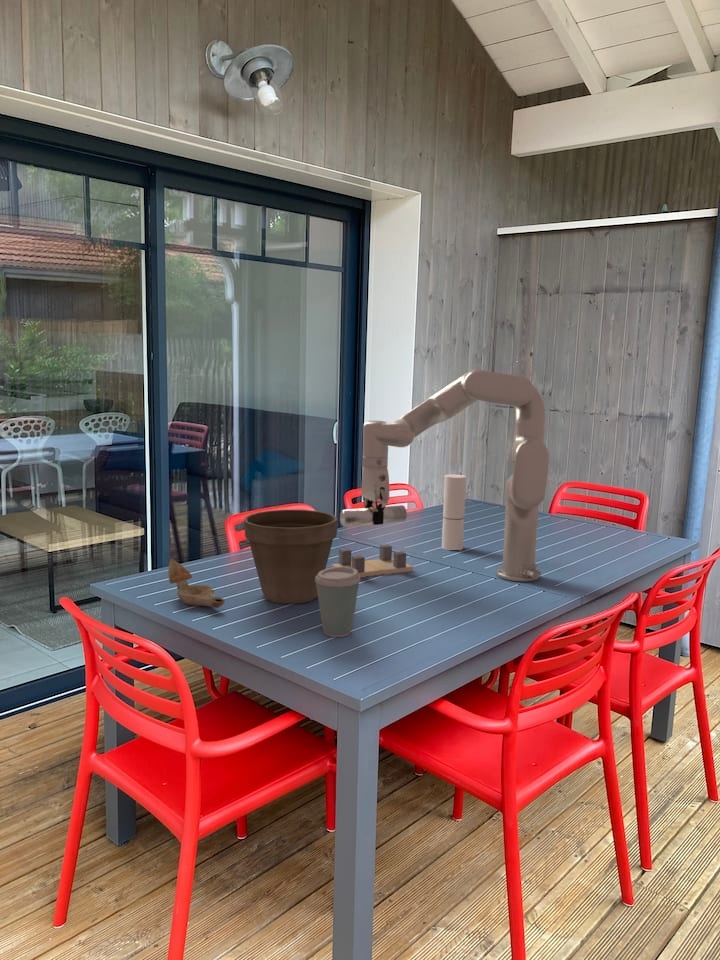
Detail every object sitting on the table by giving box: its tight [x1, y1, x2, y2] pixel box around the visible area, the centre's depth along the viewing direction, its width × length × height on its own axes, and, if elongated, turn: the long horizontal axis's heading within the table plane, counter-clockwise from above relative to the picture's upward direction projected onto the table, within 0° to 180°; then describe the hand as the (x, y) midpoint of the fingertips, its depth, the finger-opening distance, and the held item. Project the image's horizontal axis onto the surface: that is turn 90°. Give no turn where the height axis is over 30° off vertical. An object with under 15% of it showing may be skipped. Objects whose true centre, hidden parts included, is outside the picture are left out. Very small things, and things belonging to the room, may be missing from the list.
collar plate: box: [330, 544, 414, 578], centre depth 234 cm, size 11×22×6 cm, turn 116°
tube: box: [339, 505, 408, 528], centre depth 232 cm, size 20×5×5 cm, turn 116°
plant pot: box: [243, 509, 338, 605], centre depth 206 cm, size 25×25×22 cm
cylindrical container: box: [441, 473, 467, 551], centre depth 261 cm, size 7×7×25 cm
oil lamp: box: [167, 558, 226, 609], centre depth 199 cm, size 9×21×10 cm, turn 49°
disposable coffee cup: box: [315, 566, 361, 638], centre depth 180 cm, size 11×11×15 cm
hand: (373, 521), depth 232 cm, fingers closed on tube, 5 cm apart
